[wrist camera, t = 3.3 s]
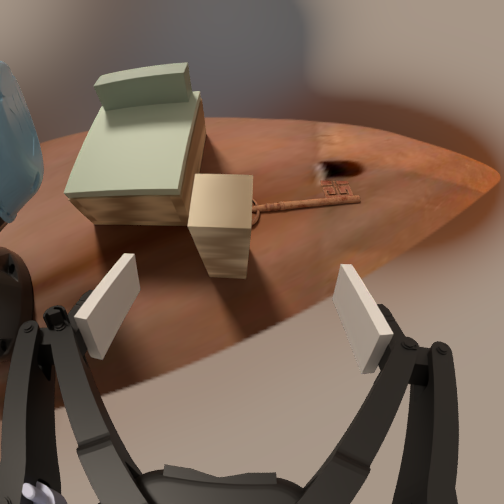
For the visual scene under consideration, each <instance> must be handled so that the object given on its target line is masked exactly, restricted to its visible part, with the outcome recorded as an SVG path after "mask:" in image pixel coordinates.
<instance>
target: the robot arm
mask: <svg viewBox="0 0 504 504" xmlns="http://www.w3.org/2000/svg"><path fill="white" fill-rule="evenodd" d="M43 173H44V166H43V157H42V152H41V148H40V144H39V141H38V137H37V134H36V130H35V127H34V125H33V121H32V119H31V116H30V113H29V110H28V108H27V105H26V102H25V99H24V97H23V94H22V92H21V89H20V87H19V85H18V83H17V80H16V78H15V77H14V76H13V75H12V73H11V70H10V68H9V66H8V65H7V64H6V63H4V62H2V61H0V232H1V230H2V229H3V228H4V227H5V226H6V225H7V224H8V223H11V222H13V221H14V219H15V218H16V216H17V213H18V212H19V211H20V209H21V208H22V207H23V206H24V205H25V204H26V203H27V202H28V201H29V200H30V199H31V198H32V197H33V196H34V195H35V194H36V192H37V191H38V189H39V187H40V185H41V183H42V179H43ZM139 292H140V284H139V278H138V272H137V266H136V260H135V254H128V253H124V254H123V255H122V257H121V258H120V259H119V260H118V261H117V262H116V264H115V265H114V266H113V267H112V268H111V270H110V271H109V272H108V273H107V275H106V276H105V277H104V278H103V279H102V281H101V282H100V283H99V284H98V286H97V287H96V288H95V290H89V291H88V292H86V293H85V294H83V295H82V297H81V298H80V299H79V301H78V302H77V303H76V305H75V306H74V307H73V308H72V310H71V311H70V312H69V313H68V315H67V313H66V310H65V308H64V307H63V306H58V305H57V306H53V307H50V308H49V309H47V310H46V311H45V313H44V315H43V318H44V320H45V322H46V325H47V327H48V328H40V327H39V325H38V323H37V322H36V321H32V312H33V293H32V285H31V279H30V275H29V272H28V269H27V267H26V265H25V263H24V261H23V260H22V259H21V257H20V256H19V255H17V254H16V253H14V252H12V251H10V250H9V249H7V248H4V247H0V361H3V362H6V361H10V360H11V364H10V369H9V374H8V380H7V386H6V392H5V400H4V409H3V420H2V441H1V449H2V450H1V451H2V452H1V457H2V459H1V462H0V504H67V502H66V500H65V498H64V497H63V496H62V495H61V482H60V472H59V465H58V458H57V448H56V436H55V415H54V392H55V369H56V373H57V378H58V382H59V386H60V390H61V394H62V397H63V401H64V405H65V408H66V411H67V414H68V417H69V421H70V424H71V427H72V429H73V432H74V435H75V438H76V440H77V443H78V448H77V454H78V457H79V459H80V462H81V464H82V466H83V469H84V471H85V473H86V475H87V477H88V479H89V482H90V484H91V486H92V488H93V490H94V491H95V493H96V495H97V497H98V499H99V501H100V503H98V504H350V503H351V502H352V500H353V499H354V497H355V495H356V494H357V493H358V491H359V490H360V488H361V486H362V485H363V483H364V482H365V480H366V478H367V476H368V474H369V473H370V465H371V463H372V461H373V459H374V457H375V456H376V454H377V452H378V450H379V448H380V446H381V444H382V442H383V441H384V438H385V437H386V434H387V432H388V430H389V428H390V426H391V424H392V422H393V419H394V417H395V415H396V413H397V410H398V408H399V405H400V403H401V400H402V398H403V396H404V393H405V390H406V388H407V385H408V384H411V386H410V402H409V413H408V422H407V430H406V438H405V445H404V451H403V456H402V462H401V467H400V472H399V476H398V481H397V485H396V489H395V493H394V497H393V502H392V504H458V502H457V496H456V490H455V485H456V476H457V465H458V445H459V444H458V443H459V421H458V400H457V387H456V378H455V369H454V362H453V356H452V351H451V349H450V347H449V346H448V345H447V344H445V343H443V342H438V341H437V342H434V343H433V344H432V346H431V348H424V347H419V345H418V343H417V342H416V341H415V340H413V339H412V338H410V337H405V335H404V334H403V332H402V330H401V329H400V327H399V325H398V324H397V322H396V321H395V319H394V317H392V314H391V312H390V311H389V309H388V308H386V307H385V306H384V305H383V304H376V303H375V301H374V299H373V298H372V296H371V294H370V293H369V291H368V290H367V288H366V286H365V285H364V283H363V281H362V280H361V278H360V277H359V275H358V274H357V272H356V270H355V269H354V267H353V266H352V265H351V264H341V265H340V270H339V274H338V278H337V283H336V287H335V291H334V295H333V298H332V300H333V303H334V305H335V308H336V310H337V312H338V315H339V317H340V320H341V322H342V325H343V327H344V330H345V332H346V335H347V338H348V340H349V343H350V345H351V348H352V350H353V353H354V356H355V359H356V361H357V364H358V367H359V370H360V372H361V374H367V373H374V372H375V370H376V368H377V366H378V365H379V368H380V370H381V371H380V373H379V375H378V376H377V378H376V380H375V382H374V385H373V386H372V388H371V390H370V392H369V394H368V396H367V397H366V399H365V401H364V403H363V404H362V406H361V408H360V410H359V411H358V413H357V415H356V416H355V418H354V420H353V421H352V423H351V424H350V426H349V428H348V429H347V431H346V432H345V434H344V435H343V437H342V438H341V440H340V441H339V443H338V444H337V446H336V447H335V449H334V450H333V452H332V453H331V454H330V456H329V457H328V458H327V460H326V461H325V462H324V464H323V465H322V466H321V468H320V469H319V470H318V472H317V473H316V474H315V475H314V476H313V477H312V479H311V480H310V481H309V482H308V483H307V484H306V486H305V487H304V488H302V487H300V486H298V485H297V484H295V483H293V482H291V481H288V480H285V479H282V478H276V473H245V474H240V475H234V476H228V477H220V478H219V477H215V476H212V475H209V474H205V473H202V472H199V471H197V470H194V469H191V468H183V467H177V466H170V465H165V466H164V470H155V471H151V472H148V473H145V474H142V473H141V471H140V470H139V468H138V467H137V466H136V465H135V463H134V462H133V460H132V459H131V457H130V455H129V453H128V452H127V450H126V448H125V446H124V444H123V442H122V441H121V439H120V437H119V435H118V433H117V431H116V429H115V427H114V425H113V423H112V421H111V419H110V417H109V415H108V412H107V410H106V408H105V406H104V403H103V401H102V399H101V396H100V394H99V391H98V389H97V386H96V384H95V381H94V379H93V376H92V373H91V371H90V368H89V365H88V362H87V359H86V357H85V355H84V354H85V353H86V351H87V350H88V352H89V354H90V356H91V357H92V358H97V359H101V360H103V358H104V356H105V354H106V352H107V350H108V348H109V346H110V345H111V343H112V341H113V339H114V337H115V335H116V333H117V331H118V329H119V327H120V326H121V324H122V322H123V320H124V318H125V316H126V315H127V313H128V311H129V309H130V307H131V306H132V304H133V302H134V300H135V299H136V297H137V295H138V293H139Z"/></svg>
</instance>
